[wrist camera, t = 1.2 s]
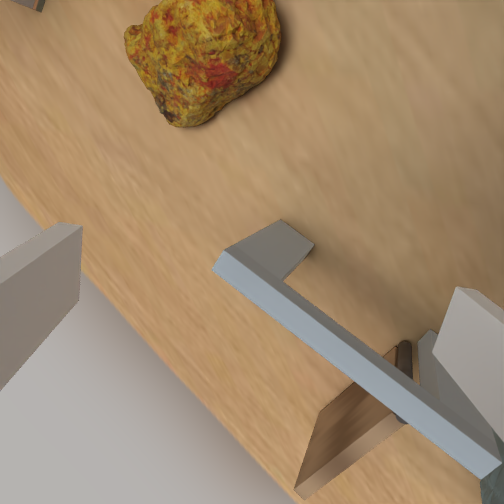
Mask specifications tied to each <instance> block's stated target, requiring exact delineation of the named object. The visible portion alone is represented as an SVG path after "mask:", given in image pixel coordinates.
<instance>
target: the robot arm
mask: <svg viewBox="0 0 504 504" xmlns="http://www.w3.org/2000/svg"><path fill="white" fill-rule="evenodd" d="M82 230H83V226H81V225H75V224H69V223H63V222H58V223H56V224H55V225H53V226H51V227H50V228H48V229H46V230H45V231H43V232H41V233H40V234H38V235H36V236H35V237H33V238H31V239H30V240H28V241H26V242H25V243H23V244H21V245H20V246H18V247H16V248H14V249H13V250H11V251H9V252H8V253H6V254H5V255H3V256H1V257H0V391H1V390H2V388H3V387H4V386H5V385H6V384H7V383H8V382H9V380H10V379H11V378H12V377H13V376H14V375H15V373H16V372H17V371H18V370H19V369H20V368H21V367H22V365H23V364H24V363H25V362H26V361H27V360H28V358H29V357H30V356H31V355H32V354H33V353H34V352H35V350H36V349H37V348H38V347H39V346H40V345H41V343H42V342H43V341H44V340H45V339H46V338H47V337H48V335H49V334H50V333H51V332H52V330H54V329H55V327H56V326H57V325H58V324H59V323H60V322H61V320H62V319H63V318H64V317H65V316H66V315H67V314H68V312H69V311H70V310H71V309H72V308H73V307H74V306H75V304H76V303H77V302H78V301H79V290H80V271H81V251H82ZM432 353H433V354H434V356H435V357H436V358H437V359H438V361H439V362H440V363H441V364H442V366H443V367H444V368H445V369H446V371H447V372H448V373H449V374H450V376H451V377H452V378H453V379H454V381H455V382H456V383H457V384H458V386H459V387H460V388H461V389H462V391H463V392H464V393H465V394H466V396H467V397H468V398H469V399H470V401H471V402H472V403H473V404H474V406H475V407H476V408H477V409H478V411H479V412H480V413H481V414H482V416H483V417H484V418H485V419H486V421H487V422H488V423H489V425H490V426H491V427H492V428H493V430H494V431H495V432H496V433H497V435H498V436H499V437H500V438H501V440H502V441H503V442H504V310H503V309H502V308H500V307H499V306H498V305H496V304H495V303H494V302H492V301H491V300H490V299H488V298H487V297H486V296H484V295H483V294H482V293H480V292H479V291H478V290H475V289H469V288H463V287H457V286H456V288H455V291H454V294H453V297H452V299H451V302H450V305H449V307H448V310H447V313H446V315H445V318H444V321H443V324H442V326H441V329H440V332H439V334H438V337H437V340H436V343H435V345H434V348H433V351H432Z"/></svg>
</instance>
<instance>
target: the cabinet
mask: <svg viewBox="0 0 504 504" xmlns="http://www.w3.org/2000/svg"><path fill="white" fill-rule="evenodd" d="M11 1H14V2H16V3H19V4H21V5H24V6H27V7H29V8H32V9H35V10H37V11H40V12H42V9H43V6H44V3H45V0H11Z"/></svg>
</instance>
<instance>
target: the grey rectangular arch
mask: <svg viewBox="0 0 504 504" xmlns="http://www.w3.org/2000/svg"><path fill="white" fill-rule="evenodd" d="M314 245H315V244H313V243H312V242H311V241H309V240H308V239H307V238H305V237H304V236H302V235H301V234H300V233H298V232H297V231H296V230H294V229H293V228H292V227H290V226H289V225H287V224H286V223H285V222H283V221H282V220H281V219H280V220H279V221H277V222H275V223H273V224H271V225H269V226H267V227H266V228H264V229H262V230H260V231H258V232H256V233H254V234H252V235H251V236H249V237H247V238H245V239H243V240H241V241H239V242H238V243H236V244H234V245H232V246H230V247H228V248H226V249H225V250H223V252H222V254H221V255H220V257H219V258H218V260H217V262H216V263H215V265H214V266H213V268H212V271H214V272H215V273H216V274H217V275H219V276H220V277H221V278H223V279H224V280H225V281H226V282H228V283H229V284H230V285H232V286H233V287H234V288H235V289H237V290H238V291H239V292H241V293H242V294H243V295H244V296H246V297H247V298H248V299H249V300H251V301H252V302H253V303H255V304H256V305H257V306H258V307H260V308H261V309H262V310H264V311H265V312H266V313H267V314H269V315H270V316H271V317H273V318H274V319H275V320H276V321H278V322H279V323H280V324H282V325H283V326H284V327H285V328H287V329H288V330H289V331H291V332H292V333H293V334H294V335H296V336H297V337H298V338H300V339H301V340H302V341H303V342H305V343H306V344H307V345H309V346H310V347H311V348H312V349H314V350H315V351H316V352H317V353H319V354H320V355H321V356H323V357H324V358H325V359H326V360H328V361H329V362H330V363H332V364H333V365H334V366H335V367H337V368H338V369H339V370H341V371H342V372H343V373H344V374H346V375H347V376H348V377H350V378H351V379H352V380H353V381H355V382H356V383H357V384H359V385H360V386H361V387H362V388H364V389H365V390H366V391H368V392H369V393H370V394H371V395H373V396H374V397H375V398H377V399H378V400H379V401H380V402H382V403H383V404H384V405H386V406H387V407H388V408H389V409H391V410H392V411H393V412H394V413H396V414H397V415H398V416H400V417H401V418H402V419H403V420H405V421H406V422H407V423H409V424H410V425H411V426H412V427H414V428H415V429H416V430H418V431H419V432H420V433H421V434H423V435H424V436H425V437H427V438H428V439H429V440H430V441H432V442H433V443H434V444H436V445H437V446H438V447H439V448H441V449H442V450H443V451H445V452H446V453H447V454H448V455H450V456H451V457H452V458H454V459H455V460H456V461H457V462H459V463H460V464H461V465H462V466H464V467H465V468H466V469H468V470H469V471H470V472H471V473H473V474H474V475H475V476H477V477H478V478H479V479H480V480H481V479H482V478H484V477H485V476H486V475H488V474H489V473H490V472H492V471H493V470H494V469H495V468H497V467H498V466H499V465H501V464H502V460H501V457H500V454H499V451H498V447H497V444H496V441H495V438H494V434H493V431H492V428H491V426H490V425H489V423H488V422H487V421H486V419H485V418H484V417H483V416H482V414H481V413H480V412H479V411H478V409H477V408H476V407H475V406H474V404H473V403H472V402H471V401H470V399H469V398H468V397H467V396H466V394H465V393H464V392H463V391H462V389H461V388H460V387H459V386H458V384H457V383H456V382H455V381H454V379H453V378H452V377H451V376H450V374H449V373H448V372H447V371H446V369H445V368H444V367H443V366H442V364H441V363H440V362H439V361H438V359H437V358H436V357H435V356H434V354H433V353H432V351H433V348H434V345H435V343H436V340H437V337H438V334H437V333H435V332H434V331H432V330H431V329H430V330H429V331H428V332H427V333H426V334H425V335H424V336H423V337H422V338H421V339H420V340H419V341H418V342H417V343H418V360H419V376H420V385H418V384H417V383H416V382H414V381H413V380H412V379H411V378H409V377H408V376H407V375H405V374H404V373H403V372H401V371H400V370H399V369H397V368H396V367H395V366H393V365H392V364H391V363H389V362H388V361H387V360H385V359H384V358H383V357H382V356H380V355H379V354H378V353H376V352H375V351H374V350H372V349H371V348H370V347H368V346H367V345H366V344H364V343H363V342H362V341H360V340H359V339H358V338H357V337H355V336H354V335H353V334H351V333H350V332H349V331H347V330H346V329H345V328H343V327H342V326H341V325H339V324H338V323H337V322H335V321H334V320H333V319H331V318H330V317H329V316H328V315H326V314H325V313H324V312H322V311H321V310H320V309H318V308H317V307H316V306H314V305H313V304H312V303H310V302H309V301H308V300H306V299H305V298H304V297H302V296H301V295H300V294H299V293H297V292H296V291H295V290H293V289H292V288H291V287H289V286H288V285H287V284H285V283H284V282H283V281H284V280H285V279H286V278H287V277H288V276H289V274H290V273H291V272H292V271H293V270H294V269H295V268H296V267H297V266H298V265H299V264H300V263H301V262H302V261H303V260H304V259H305V257H306V256H307V255H308V253H309V252H310V250H311V249H312V248H313V246H314Z"/></svg>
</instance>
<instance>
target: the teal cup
mask: <svg viewBox="0 0 504 504" xmlns="http://www.w3.org/2000/svg"><path fill="white" fill-rule="evenodd" d="M491 428H492V427H491ZM492 431H493V434H494V438H495V441H496V444H497V447H498V451H499V454H500V457H501V460H502V464H501V465H499V466H498V467H497V468H495V469H494V470H493V471H492V472H490V473H489V474H488V475H486V476H485V477H484V478H482V479H481V481H480V488H481V497H482V504H504V442H503V441H502V440H501V438H500V437H499V436H498V435H497V433H496V432H495V431H494V430H493V428H492Z"/></svg>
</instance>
